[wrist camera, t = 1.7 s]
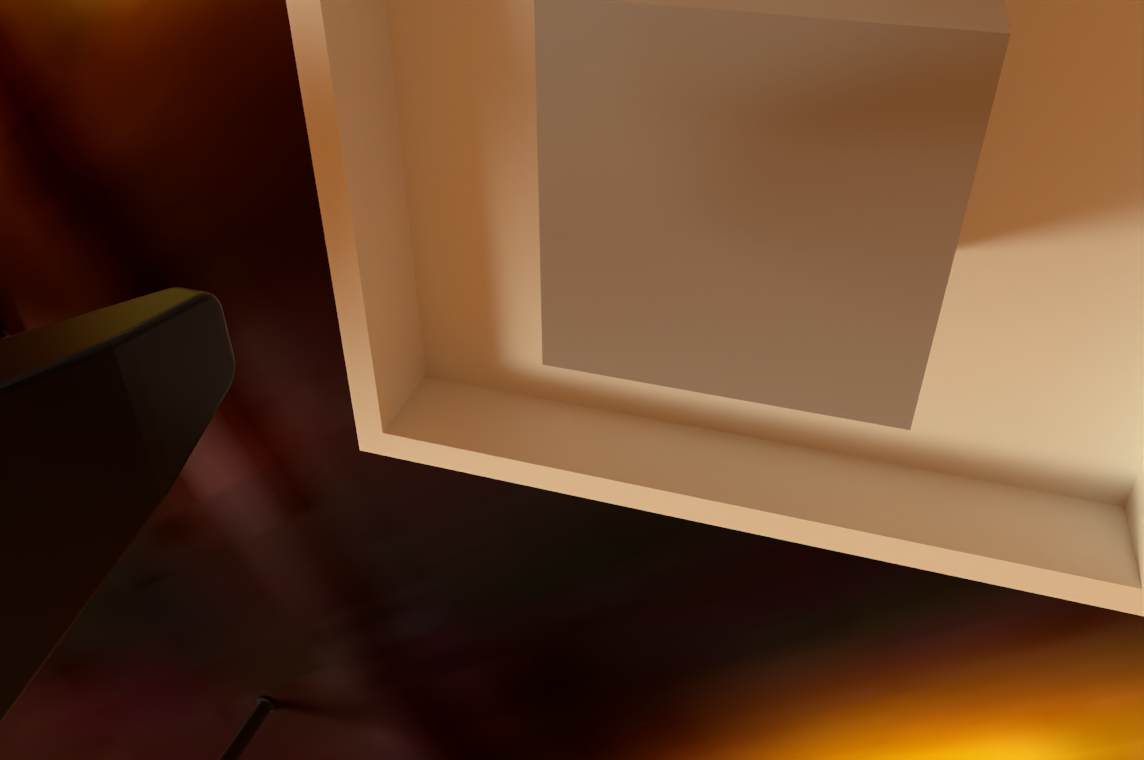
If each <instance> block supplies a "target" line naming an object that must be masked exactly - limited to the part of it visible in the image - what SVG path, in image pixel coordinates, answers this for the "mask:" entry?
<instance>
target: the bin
mask: <svg viewBox="0 0 1144 760" xmlns="http://www.w3.org/2000/svg"><path fill="white" fill-rule="evenodd" d="M286 4H287V10H288V17H289V23H290V29H291V35H292V41H293V47H294V53H295V59H296V65H297V71H298V77H299V83H300V90H301V96H302V102H303V108H304V114H305V120H306V126H307V132H308V138H309V144H310V150H311V156H312V162H313V169H314V175H315V181H316V187H317V193H318V199H319V205H320V211H321V217H322V223H323V229H324V235H325V242H326V248H327V254H328V260H329V266H330V272H331V278H332V284H333V290H334V296H335V302H336V308H337V315H338V321H339V327H340V333H341V339H342V345H343V351H344V357H345V363H346V369H347V375H348V381H349V387H350V394H351V400H352V406H353V412H354V418H355V424H356V430H357V436H358V442H359V448H360V450H361V451H366V452H370V453H375V454H380V455H384V456H389V457H394V458H399V459H403V460H408V461H413V462H417V463H422V464H427V465H432V466H436V467H441V468H446V469H451V470H455V471H460V472H465V473H469V474H474V475H479V476H484V477H488V478H493V479H498V480H503V481H507V482H512V483H517V484H521V485H526V486H531V487H536V488H540V489H545V490H550V491H554V492H559V493H564V494H569V495H573V496H578V497H583V498H588V499H592V500H597V501H602V502H606V503H611V504H616V505H621V506H625V507H630V508H635V509H639V510H644V511H649V512H654V513H658V514H663V515H668V516H673V517H677V518H682V519H687V520H691V521H696V522H701V523H706V524H710V525H715V526H720V527H725V528H729V529H734V530H739V531H743V532H748V533H753V534H758V535H762V536H767V537H772V538H776V539H781V540H786V541H791V542H795V543H800V544H805V545H810V546H814V547H819V548H824V549H828V550H833V551H838V552H843V553H847V554H852V555H857V556H861V557H866V558H871V559H876V560H880V561H885V562H890V563H895V564H899V565H904V566H909V567H913V568H918V569H923V570H928V571H932V572H937V573H942V574H947V575H951V576H956V577H961V578H965V579H970V580H975V581H980V582H984V583H989V584H994V585H998V586H1003V587H1008V588H1013V589H1017V590H1022V591H1027V592H1032V593H1036V594H1041V595H1046V596H1050V597H1055V598H1060V599H1065V600H1069V601H1074V602H1079V603H1084V604H1088V605H1093V606H1098V607H1102V608H1107V609H1112V610H1117V611H1121V612H1126V613H1131V614H1135V615H1140V616H1144V0H1005V4H1006V10H1007V15H1008V21H1009V27H1010V32H1011V34H1010V38H1009V42H1008V46H1007V50H1006V54H1005V58H1004V62H1003V66H1002V70H1001V74H1000V78H999V82H998V86H997V90H996V94H995V98H994V101H993V105H992V109H991V113H990V117H989V121H988V125H987V129H986V133H985V137H984V141H983V145H982V149H981V153H980V157H979V161H978V165H977V169H976V173H975V177H974V180H973V184H972V188H971V192H970V196H969V200H968V204H967V208H966V212H965V216H964V220H963V224H962V228H961V232H960V236H959V240H958V244H957V248H956V252H955V255H954V259H953V263H952V267H951V271H950V275H949V279H948V283H947V287H946V291H945V295H944V299H943V303H942V307H941V311H940V315H939V319H938V323H937V327H936V331H935V334H934V338H933V342H932V346H931V350H930V354H929V358H928V362H927V366H926V370H925V374H924V378H923V382H922V386H921V390H920V394H919V398H918V402H917V406H916V409H915V413H914V417H913V421H912V425H911V429H910V430H906V429H900V428H895V427H889V426H884V425H878V424H872V423H867V422H861V421H856V420H850V419H844V418H839V417H833V416H828V415H822V414H816V413H811V412H805V411H800V410H794V409H788V408H783V407H777V406H772V405H766V404H760V403H755V402H749V401H744V400H738V399H732V398H727V397H721V396H716V395H710V394H704V393H699V392H693V391H688V390H682V389H676V388H671V387H665V386H660V385H654V384H648V383H643V382H637V381H632V380H626V379H620V378H615V377H609V376H604V375H598V374H592V373H587V372H581V371H576V370H570V369H564V368H559V367H553V366H548V365H542V321H541V278H540V234H539V191H538V147H537V104H536V61H535V17H534V0H286Z"/></svg>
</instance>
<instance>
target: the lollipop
mask: <svg viewBox="0 0 1144 760" xmlns="http://www.w3.org/2000/svg"><path fill="white" fill-rule="evenodd" d="M257 702H258V705H257V706H256V708H255V709H254V710H253V712H252V713H251V715H250V716H249V717H248V719H247V720H246V721H245V723H244V724H243V726H242V727H241V728H240V730H239V731H238V733H237V734H236V735H235V737H234V738H233V740H232V741H231V743H230V744H229V745H228V747H227V748H226V750H225V751H224V752H223V754H222V755H221V757H220V758H219V760H238V758H239V757H240V755H241V754H242V752H243V751H244V749H245V748H246V746H247V745H248V743H249V742H250V740H251V739H252V737H253V736H254V734H255V733H256V731H257V730H258V728H259V727H260V725H261V724H262V722H263V721H264V719H265V718H266V716H267V715H268V713H269V712H273V711H275V709H276V708H275V706H274V704H273V703H272V702H271V701H270V700H268V699H266V698H258V699H257Z"/></svg>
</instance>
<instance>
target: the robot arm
mask: <svg viewBox="0 0 1144 760" xmlns="http://www.w3.org/2000/svg"><path fill="white" fill-rule="evenodd" d="M234 372H235V359H234V354H233V350H232V346H231V342H230V338H229V334H228V329H227V325H226V321H225V317H224V313H223V309H222V306H221V303H220V302H219V300H218V299H217V297H216V296H215V295H213V294H212V293H210V292H206V291H200V290H194V289H189V288H183V287H173V288H169V289H165V290H162V291H158V292H155V293H152V294H148V295H145V296H142V297H138V298H135V299H132V300H128V301H125V302H122V303H118V304H115V305H112V306H108V307H105V308H102V309H98V310H95V311H91V312H88V313H85V314H81V315H78V316H75V317H71V318H68V319H65V320H61V321H58V322H55V323H51V324H48V325H45V326H41V327H38V328H35V329H31V330H28V331H24V332H21V333H18V334H14V335H11V336H8V337H4V338H3V337H2V334H1V332H0V723H1V722H2V721H3V719H4V718H5V716H6V715H7V714H8V712H9V711H10V710H11V708H12V707H13V706H14V704H15V703H16V701H17V700H18V699H19V697H20V696H21V695H22V693H23V692H24V690H25V689H26V688H27V686H28V685H29V684H30V682H31V681H32V680H33V678H34V677H35V675H36V674H37V673H38V671H39V670H40V669H41V667H42V666H43V665H44V663H45V662H46V660H47V659H48V658H49V656H50V655H51V654H52V652H53V651H54V650H55V648H56V647H57V645H58V644H59V643H60V641H61V640H62V639H63V637H64V636H65V635H66V633H67V632H68V630H69V629H70V628H71V626H72V625H73V624H74V622H75V621H76V619H77V618H78V617H79V615H80V614H81V613H82V611H83V610H84V609H85V607H86V606H87V604H88V603H89V602H90V600H91V599H92V598H93V596H94V595H95V594H96V592H97V591H98V589H99V588H100V587H101V585H102V584H103V583H104V581H105V580H106V579H107V577H108V576H109V574H110V573H111V572H112V570H113V569H114V568H115V566H116V565H117V564H118V562H119V561H120V559H121V558H122V557H123V555H124V554H125V553H126V551H127V550H128V549H129V547H130V546H131V544H132V543H133V542H134V540H135V539H136V538H137V536H138V535H139V533H140V532H141V531H142V529H143V528H144V527H145V525H146V524H147V523H148V521H149V520H150V518H151V517H152V516H153V514H154V513H155V511H156V510H157V508H158V507H159V505H160V504H161V503H162V501H163V500H164V498H165V496H166V495H167V493H168V491H169V490H170V488H171V487H172V485H173V483H174V482H175V480H176V478H177V477H178V475H179V473H180V472H181V470H182V468H183V466H184V465H185V463H186V461H187V460H188V458H189V456H190V454H191V453H192V451H193V449H194V448H195V446H196V444H197V442H198V441H199V439H200V437H201V436H202V434H203V432H204V430H205V429H206V427H207V425H208V424H209V422H210V420H211V418H212V417H213V415H214V413H215V412H216V410H217V408H218V406H219V405H220V403H221V401H222V400H223V398H224V396H225V394H226V393H227V391H228V389H229V388H230V386H231V383H232V380H233V377H234Z"/></svg>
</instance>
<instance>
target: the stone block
mask: <svg viewBox="0 0 1144 760" xmlns="http://www.w3.org/2000/svg"><path fill="white" fill-rule="evenodd" d="M534 17H535V61H536V104H537V147H538V191H539V234H540V278H541V321H542V365H548V366H553V367H559V368H564V369H570V370H576V371H581V372H587V373H592V374H598V375H604V376H609V377H615V378H620V379H626V380H632V381H637V382H643V383H648V384H654V385H660V386H665V387H671V388H676V389H682V390H688V391H693V392H699V393H704V394H710V395H716V396H721V397H727V398H732V399H738V400H744V401H749V402H755V403H760V404H766V405H772V406H777V407H783V408H788V409H794V410H800V411H805V412H811V413H816V414H822V415H828V416H833V417H839V418H844V419H850V420H856V421H861V422H867V423H872V424H878V425H884V426H889V427H895V428H900V429H906V430H910V429H911V425H912V421H913V417H914V413H915V409H916V406H917V402H918V398H919V394H920V390H921V386H922V382H923V378H924V374H925V370H926V366H927V362H928V358H929V354H930V350H931V346H932V342H933V338H934V334H935V331H936V327H937V323H938V319H939V315H940V311H941V307H942V303H943V299H944V295H945V291H946V287H947V283H948V279H949V275H950V271H951V267H952V263H953V259H954V255H955V252H956V248H957V244H958V240H959V236H960V232H961V228H962V224H963V220H964V216H965V212H966V208H967V204H968V200H969V196H970V192H971V188H972V184H973V180H974V177H975V173H976V169H977V165H978V161H979V157H980V153H981V149H982V145H983V141H984V137H985V133H986V129H987V125H988V121H989V117H990V113H991V109H992V105H993V101H994V98H995V94H996V90H997V86H998V82H999V78H1000V74H1001V70H1002V66H1003V62H1004V58H1005V54H1006V50H1007V46H1008V42H1009V38H1010V34H1011V32H1010V27H1009V21H1008V15H1007V10H1006V4H1005V0H534Z"/></svg>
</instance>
